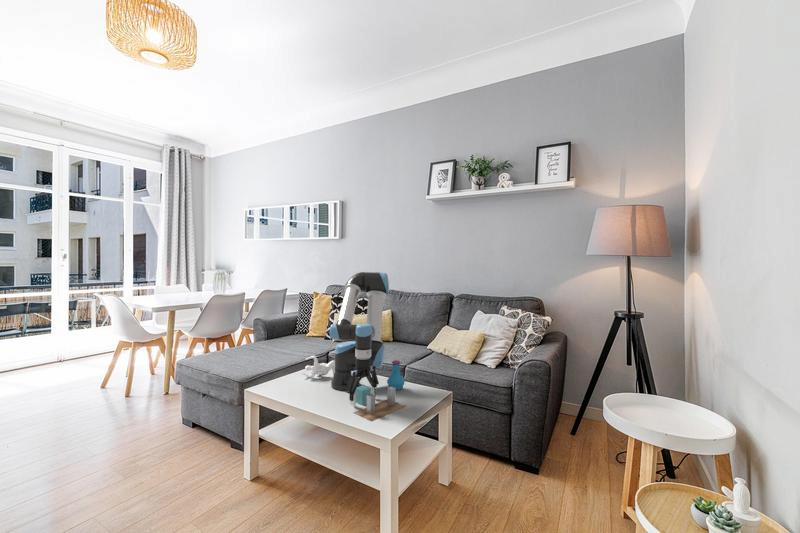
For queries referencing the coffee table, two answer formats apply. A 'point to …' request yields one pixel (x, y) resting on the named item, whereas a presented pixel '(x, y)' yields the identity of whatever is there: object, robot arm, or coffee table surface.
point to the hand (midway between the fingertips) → (362, 403)
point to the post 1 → (370, 404)
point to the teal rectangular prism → (362, 394)
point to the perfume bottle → (396, 377)
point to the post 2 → (391, 396)
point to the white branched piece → (319, 368)
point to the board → (379, 410)
